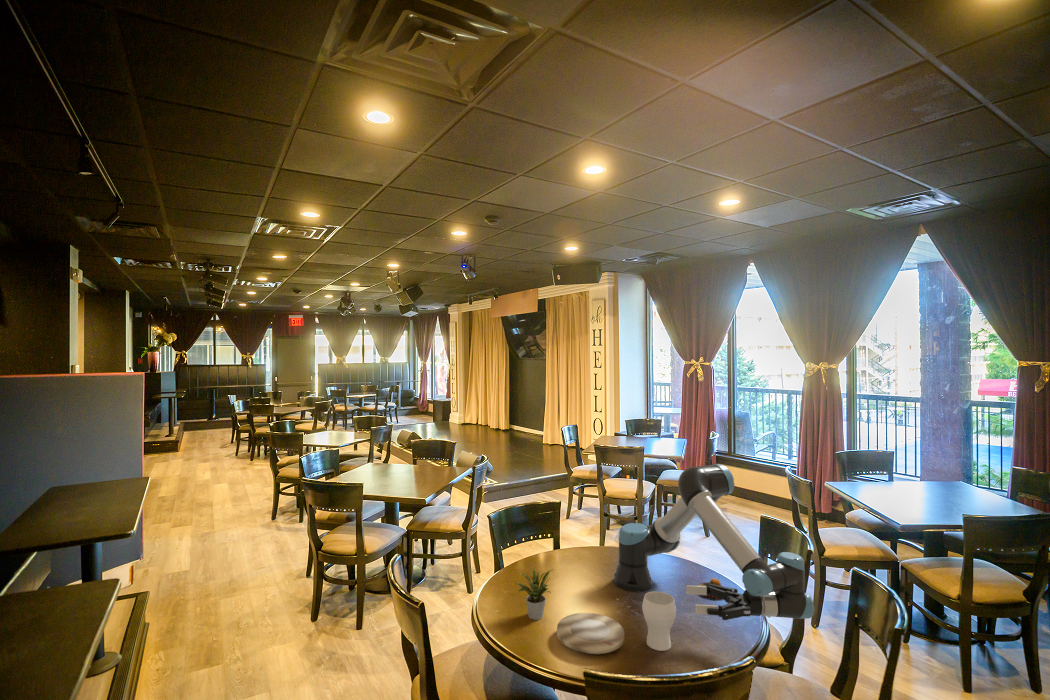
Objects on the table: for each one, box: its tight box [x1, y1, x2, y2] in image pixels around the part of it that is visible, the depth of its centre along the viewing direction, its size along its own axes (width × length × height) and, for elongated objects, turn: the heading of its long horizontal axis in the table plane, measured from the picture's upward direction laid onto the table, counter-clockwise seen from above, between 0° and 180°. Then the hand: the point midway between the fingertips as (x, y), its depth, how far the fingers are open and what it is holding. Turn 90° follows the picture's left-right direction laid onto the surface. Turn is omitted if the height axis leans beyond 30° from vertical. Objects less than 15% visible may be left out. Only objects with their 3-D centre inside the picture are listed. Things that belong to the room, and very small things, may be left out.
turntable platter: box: [556, 612, 625, 655], centre depth 166 cm, size 22×22×2 cm
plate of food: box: [696, 576, 722, 601], centre depth 202 cm, size 12×12×8 cm
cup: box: [641, 590, 677, 652], centre depth 165 cm, size 11×11×15 cm
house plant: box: [514, 566, 554, 621], centre depth 183 cm, size 14×14×16 cm
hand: (690, 599), depth 163 cm, fingers open, 13 cm apart
